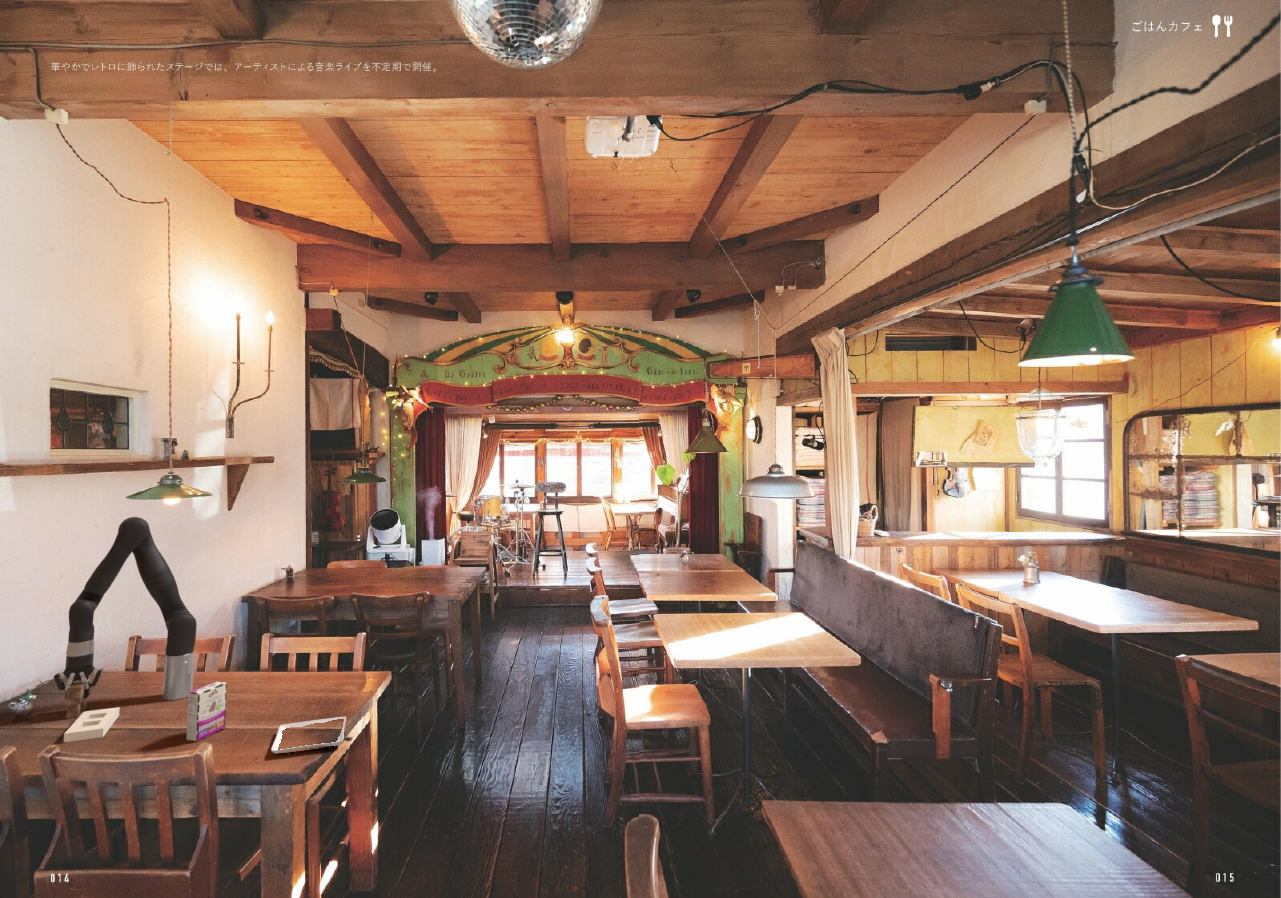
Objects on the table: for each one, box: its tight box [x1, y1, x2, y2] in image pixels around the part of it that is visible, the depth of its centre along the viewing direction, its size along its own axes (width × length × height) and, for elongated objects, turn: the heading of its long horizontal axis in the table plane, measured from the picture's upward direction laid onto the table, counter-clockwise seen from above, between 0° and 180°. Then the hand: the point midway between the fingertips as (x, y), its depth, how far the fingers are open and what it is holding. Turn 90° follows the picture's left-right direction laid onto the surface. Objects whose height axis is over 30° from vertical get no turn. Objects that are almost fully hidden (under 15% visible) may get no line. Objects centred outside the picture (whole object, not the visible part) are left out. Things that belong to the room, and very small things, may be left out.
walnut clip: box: [64, 680, 88, 720], centre depth 224 cm, size 4×10×11 cm, turn 29°
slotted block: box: [63, 706, 121, 744], centre depth 212 cm, size 10×20×3 cm, turn 29°
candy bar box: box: [185, 680, 228, 742], centre depth 211 cm, size 11×5×16 cm, turn 168°
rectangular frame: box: [270, 715, 347, 755], centre depth 208 cm, size 21×21×3 cm
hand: (77, 699), depth 224 cm, fingers closed on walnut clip, 4 cm apart
